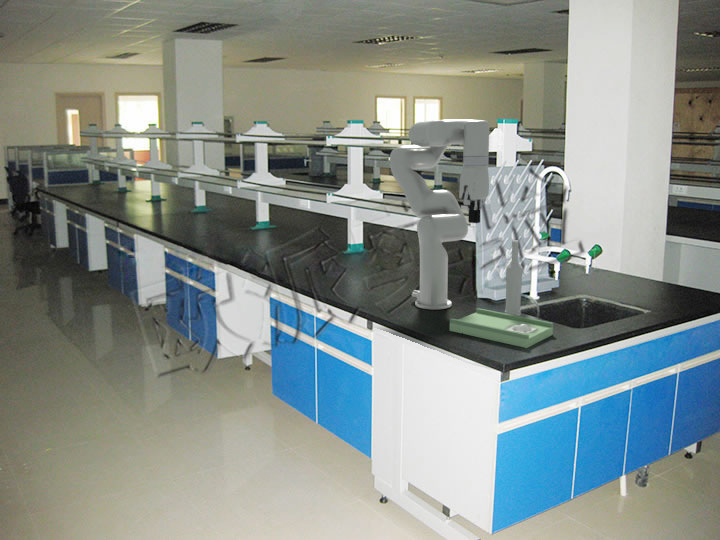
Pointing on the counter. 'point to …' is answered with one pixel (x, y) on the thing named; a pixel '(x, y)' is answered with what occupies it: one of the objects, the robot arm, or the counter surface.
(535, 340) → the putting mat
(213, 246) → the counter surface
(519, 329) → the ball
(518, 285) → the bottle
